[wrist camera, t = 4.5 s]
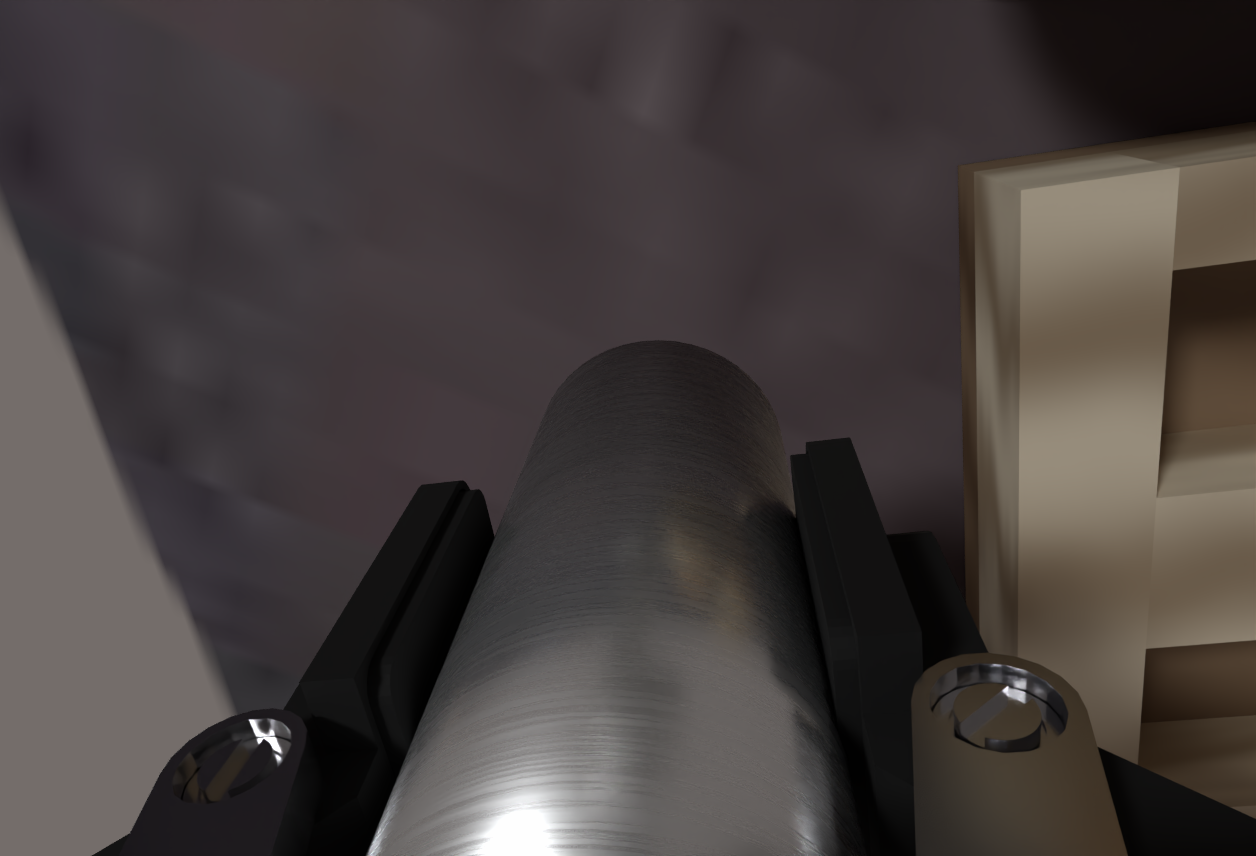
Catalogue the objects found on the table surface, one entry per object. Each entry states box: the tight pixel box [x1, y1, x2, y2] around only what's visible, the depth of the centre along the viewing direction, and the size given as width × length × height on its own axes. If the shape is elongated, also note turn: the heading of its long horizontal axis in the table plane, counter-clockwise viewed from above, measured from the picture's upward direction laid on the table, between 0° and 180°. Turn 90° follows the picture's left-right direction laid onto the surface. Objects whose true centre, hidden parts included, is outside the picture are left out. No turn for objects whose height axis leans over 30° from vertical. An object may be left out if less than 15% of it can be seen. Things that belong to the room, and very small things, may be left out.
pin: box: [366, 340, 867, 856], centre depth 10 cm, size 4×4×10 cm
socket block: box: [958, 121, 1256, 819], centre depth 24 cm, size 20×12×5 cm, turn 9°
